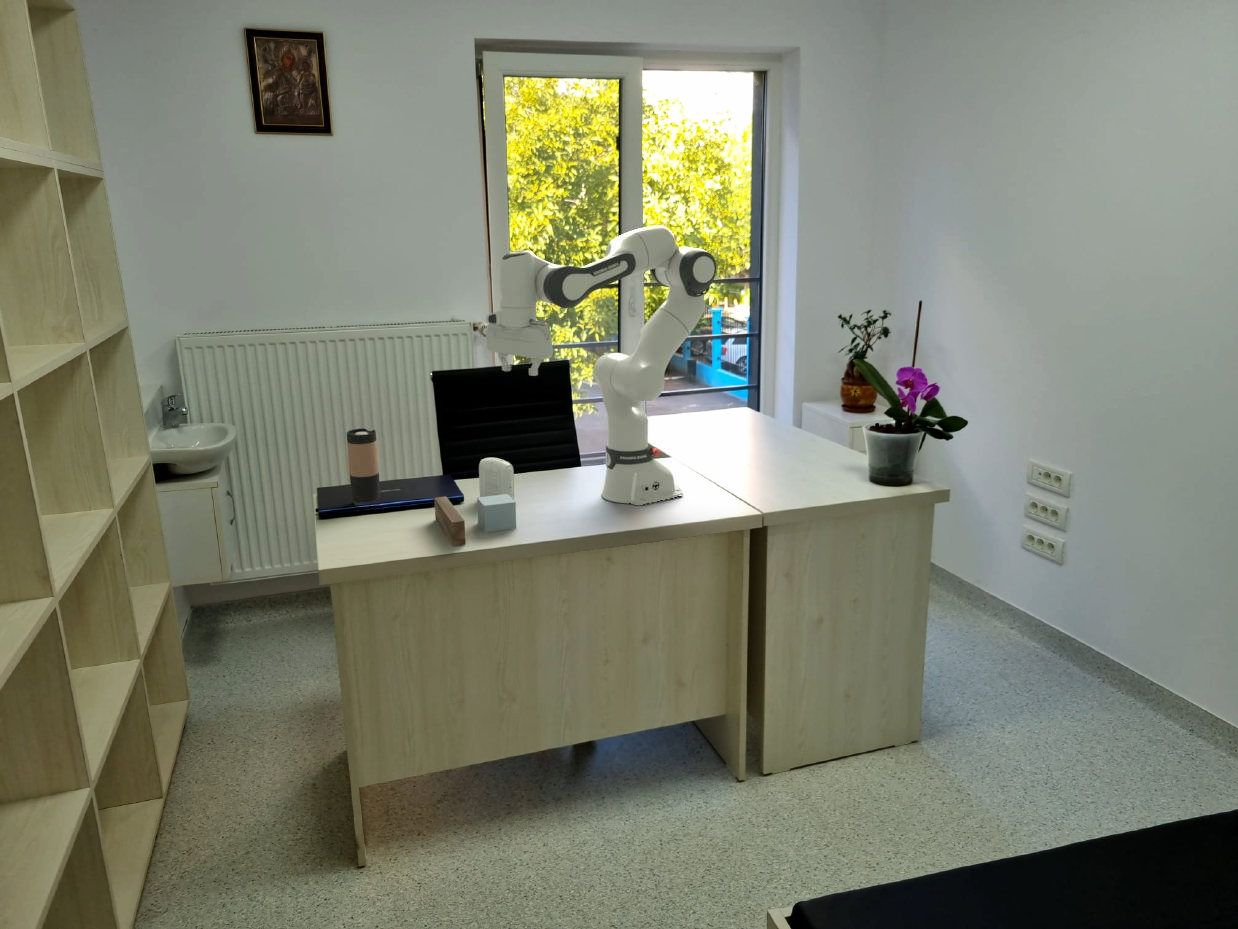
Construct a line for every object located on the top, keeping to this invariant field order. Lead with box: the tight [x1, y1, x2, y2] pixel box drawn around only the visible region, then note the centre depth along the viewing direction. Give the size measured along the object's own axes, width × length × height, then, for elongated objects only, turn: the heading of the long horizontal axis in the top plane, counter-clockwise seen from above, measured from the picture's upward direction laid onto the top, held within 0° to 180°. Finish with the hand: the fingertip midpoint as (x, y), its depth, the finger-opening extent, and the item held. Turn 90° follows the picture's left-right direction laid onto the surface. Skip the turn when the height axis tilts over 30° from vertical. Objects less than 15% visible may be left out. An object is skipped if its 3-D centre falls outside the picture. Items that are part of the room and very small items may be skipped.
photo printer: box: [478, 457, 515, 501], centre depth 254 cm, size 10×4×12 cm, turn 56°
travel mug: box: [346, 428, 381, 502], centre depth 251 cm, size 8×8×20 cm
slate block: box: [476, 494, 517, 533], centre depth 236 cm, size 8×7×7 cm
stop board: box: [433, 496, 467, 547], centre depth 232 cm, size 3×20×6 cm, turn 23°
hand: (519, 373), depth 237 cm, fingers open, 8 cm apart
